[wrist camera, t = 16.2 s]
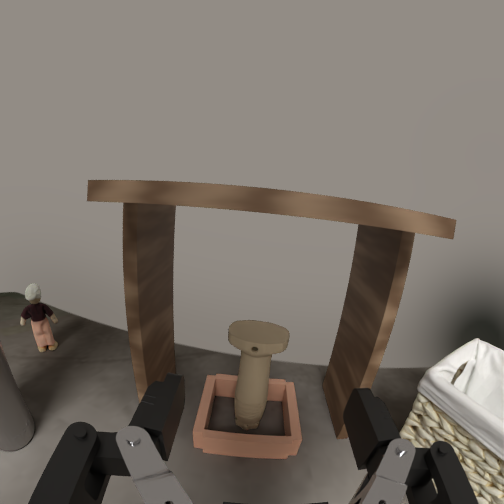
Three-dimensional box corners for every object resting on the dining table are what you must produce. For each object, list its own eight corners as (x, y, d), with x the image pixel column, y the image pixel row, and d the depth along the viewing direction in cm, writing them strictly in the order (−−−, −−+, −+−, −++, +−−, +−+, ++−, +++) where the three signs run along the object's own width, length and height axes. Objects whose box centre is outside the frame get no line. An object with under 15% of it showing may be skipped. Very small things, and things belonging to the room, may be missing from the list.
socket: (193, 450, 26) (191, 434, 25) (208, 389, 38) (208, 372, 37) (296, 458, 26) (302, 443, 25) (289, 396, 38) (293, 379, 37)
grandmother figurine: (60, 338, 42) (49, 277, 39) (64, 348, 40) (52, 284, 37) (27, 346, 36) (12, 283, 33) (29, 357, 34) (13, 291, 31)
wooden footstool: (129, 453, 23) (88, 180, 17) (167, 371, 41) (166, 181, 34) (356, 471, 23) (456, 219, 16) (330, 385, 41) (371, 202, 34)
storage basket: (527, 475, 10) (586, 396, 7) (478, 549, 4) (573, 471, 1) (439, 409, 32) (476, 333, 29) (374, 452, 26) (421, 366, 23)
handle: (228, 407, 35) (234, 316, 31) (273, 415, 34) (290, 325, 30) (219, 430, 30) (223, 337, 27) (268, 439, 29) (288, 347, 26)
